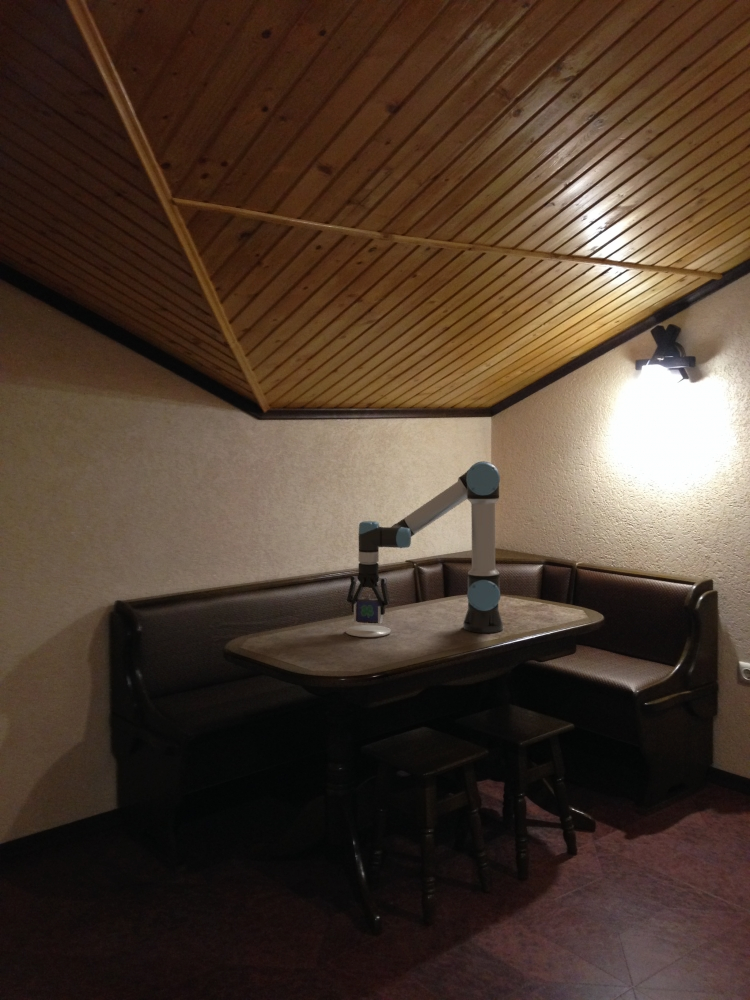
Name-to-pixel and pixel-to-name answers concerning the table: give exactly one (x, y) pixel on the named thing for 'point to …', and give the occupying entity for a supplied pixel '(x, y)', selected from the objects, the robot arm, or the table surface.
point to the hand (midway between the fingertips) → (368, 621)
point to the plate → (368, 631)
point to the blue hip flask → (367, 610)
